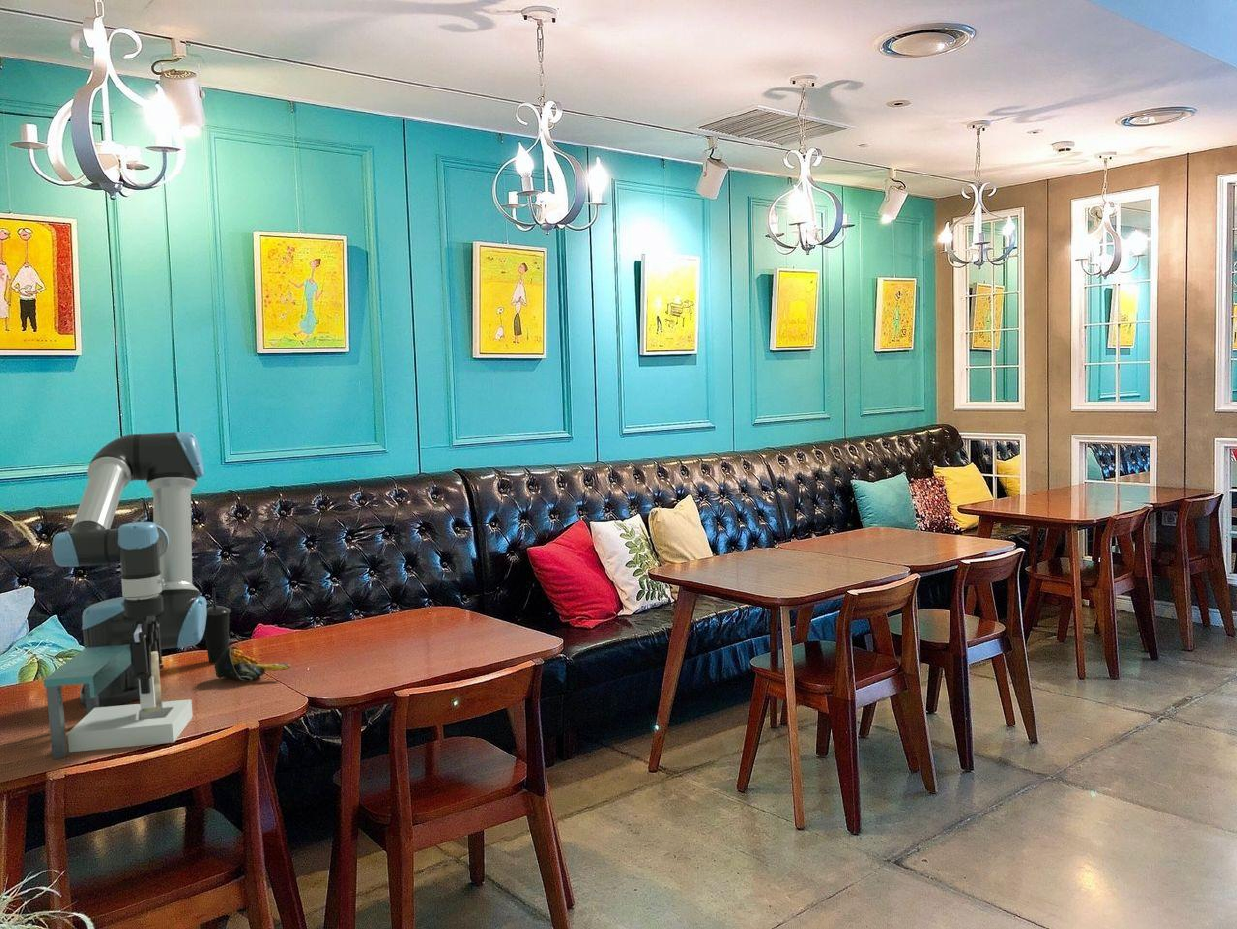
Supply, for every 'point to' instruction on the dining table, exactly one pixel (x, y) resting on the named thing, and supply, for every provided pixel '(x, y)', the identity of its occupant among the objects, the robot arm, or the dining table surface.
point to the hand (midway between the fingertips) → (151, 704)
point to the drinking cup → (216, 630)
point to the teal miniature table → (88, 669)
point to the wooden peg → (155, 682)
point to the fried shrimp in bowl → (242, 666)
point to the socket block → (129, 726)
